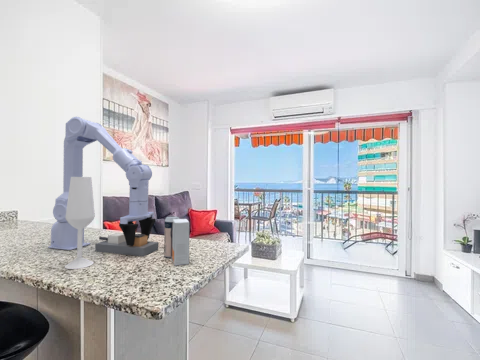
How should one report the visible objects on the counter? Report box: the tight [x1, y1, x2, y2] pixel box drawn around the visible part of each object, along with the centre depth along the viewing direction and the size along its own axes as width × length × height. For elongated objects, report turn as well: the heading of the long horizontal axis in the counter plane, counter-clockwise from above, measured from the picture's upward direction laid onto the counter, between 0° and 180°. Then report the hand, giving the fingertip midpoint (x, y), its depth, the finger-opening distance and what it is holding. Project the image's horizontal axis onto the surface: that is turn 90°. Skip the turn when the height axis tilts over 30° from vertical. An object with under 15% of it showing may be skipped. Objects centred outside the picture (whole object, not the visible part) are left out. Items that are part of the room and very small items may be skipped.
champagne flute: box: [64, 176, 96, 270], centre depth 67 cm, size 7×7×24 cm
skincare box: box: [171, 218, 190, 266], centre depth 70 cm, size 6×4×12 cm
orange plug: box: [133, 233, 149, 247], centre depth 80 cm, size 4×4×6 cm
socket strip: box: [94, 232, 159, 257], centre depth 81 cm, size 20×8×5 cm, turn 76°
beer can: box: [163, 216, 180, 259], centre depth 75 cm, size 5×5×12 cm
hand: (138, 242), depth 80 cm, fingers open, 7 cm apart
